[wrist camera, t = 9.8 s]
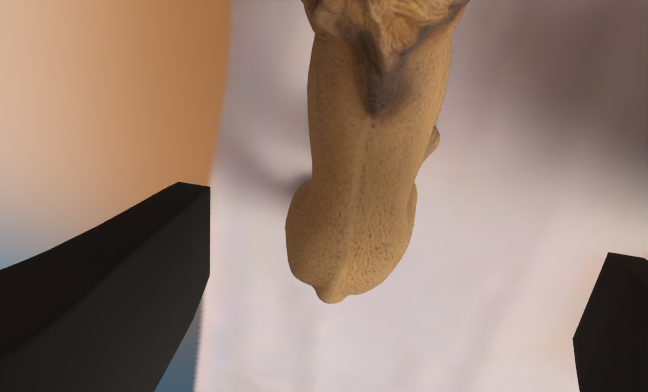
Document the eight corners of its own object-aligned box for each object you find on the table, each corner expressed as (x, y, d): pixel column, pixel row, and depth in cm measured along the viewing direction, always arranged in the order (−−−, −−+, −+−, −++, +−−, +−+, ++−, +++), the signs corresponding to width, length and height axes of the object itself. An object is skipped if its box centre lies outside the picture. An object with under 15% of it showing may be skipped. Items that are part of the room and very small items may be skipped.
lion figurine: (257, -241, 15) (75, -328, 7) (482, -268, 14) (546, -399, 6) (310, 255, 22) (247, 476, 14) (461, 258, 21) (480, 495, 14)
